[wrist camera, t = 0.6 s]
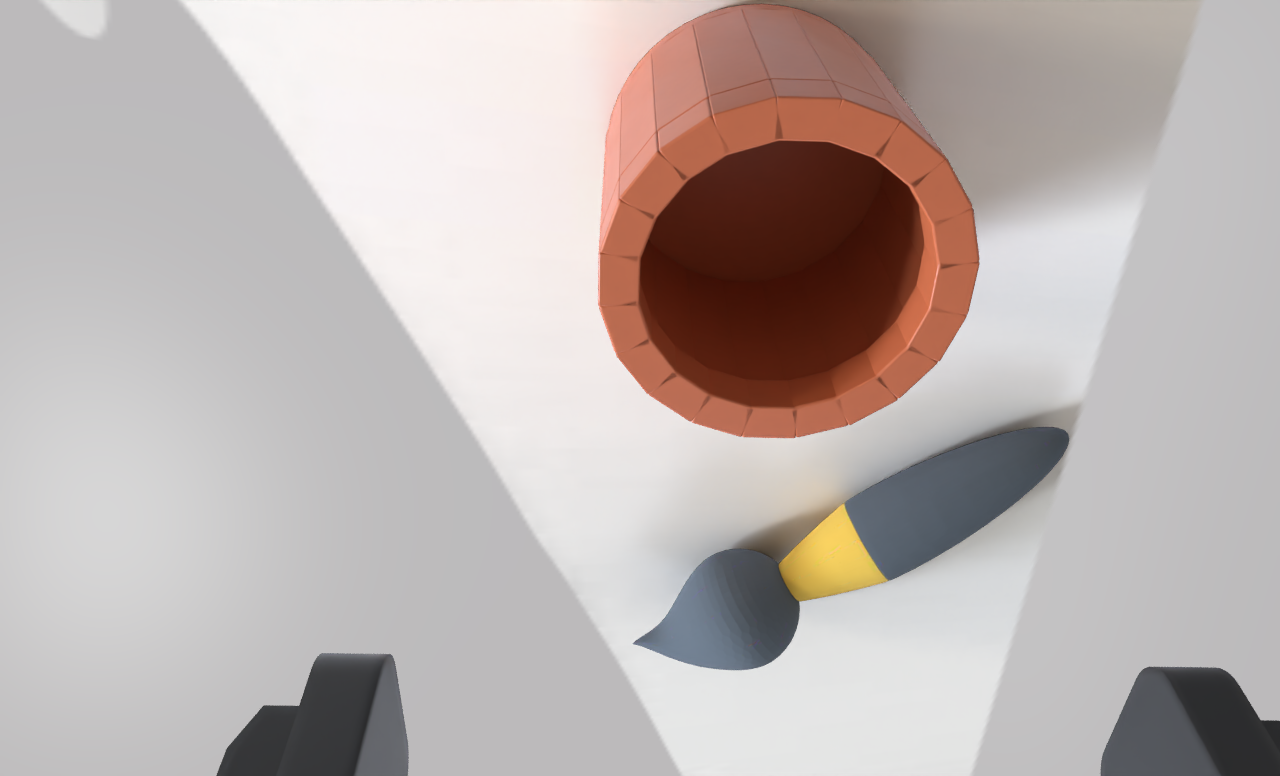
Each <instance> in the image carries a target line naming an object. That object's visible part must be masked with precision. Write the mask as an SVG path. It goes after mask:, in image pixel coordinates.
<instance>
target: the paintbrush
mask: <svg viewBox="0 0 1280 776" xmlns="http://www.w3.org/2000/svg"><path fill="white" fill-rule="evenodd" d="M1068 443H1069V435H1068V433H1067V432H1066V431H1064V430H1062V429H1059V428H1054V427H1036V428H1028V429H1022V430H1017V431H1012V432H1008V433H1004V434H1000V435H997V436H993V437H990V438H987V439H983V440H980V441H977V442H974V443H971V444H968V445H965V446H962V447H960V448H957V449H954V450H951V451H949V452H946V453H943V454H941V455H938V456H936V457H934V458H931V459H929V460H926V461H924V462H922V463H919V464H917V465H914V466H912V467H910V468H908V469H906V470H904V471H902V472H900V473H898V474H895V475H893V476H891V477H889V478H887V479H885V480H883V481H881V482H880V483H878V484H876V485H874V486H872V487H870V488H868V489H866V490H864V491H863V492H861V493H859V494H858V495H856V496H854V497H852V498H851V499H849V500H848V501H846V502H845V503H843V504H842V505H841V506H839V507H838V508H837V509H836V510H835V511H834V512H833V513H831V514H830V515H829V516H828V517H827V518H826V519H825V520H823V521H822V522H821V523H820V524H819V525H818V526H817V527H816V528H815V529H814V530H813V531H811V532H810V533H809V534H808V535H807V536H806V537H805V538H804V539H803V540H802V541H801V542H800V543H799V544H798V545H797V546H796V547H795V548H794V549H793V550H792V551H791V552H790V553H789V554H788V555H787V556H786V557H785V558H784V559H783V560H782V561H781V562H780V563H778V562H776V561H775V560H774V559H772V558H770V557H769V556H767V555H764V554H762V553H759V552H756V551H752V550H747V549H730V550H725V551H722V552H719V553H716V554H714V555H712V556H710V557H709V558H707V559H706V560H704V561H703V562H702V563H701V564H700V565H699V566H698V567H697V568H696V569H695V571H694V572H693V573H692V574H691V576H690V577H689V579H688V580H687V582H686V583H685V585H684V586H683V588H682V590H681V592H680V593H679V595H678V597H677V599H676V601H675V602H674V604H673V606H672V608H671V609H670V611H669V612H668V614H667V615H666V617H665V618H664V619H663V620H662V622H661V623H660V624H659V625H658V626H656V627H655V628H654V629H653V630H651V631H650V632H648V633H647V634H645V635H644V636H642V637H641V638H639V639H638V640H636V641H635V642H634V643H633V644H635V645H639V646H642V647H645V648H648V649H650V650H653V651H655V652H657V653H660V654H662V655H665V656H667V657H670V658H673V659H675V660H678V661H681V662H684V663H688V664H692V665H696V666H700V667H706V668H713V669H723V670H747V669H753V668H758V667H761V666H764V665H766V664H768V663H770V662H772V661H773V660H775V659H776V658H777V657H778V656H780V655H781V653H782V652H783V651H784V650H785V649H786V648H787V646H788V645H789V644H790V642H791V640H792V638H793V636H794V634H795V631H796V629H797V625H798V621H799V611H800V606H799V601H805V600H811V599H816V598H821V597H826V596H831V595H836V594H840V593H844V592H849V591H853V590H857V589H861V588H865V587H869V586H872V585H876V584H880V583H883V582H886V581H889V580H892V579H894V578H897V577H899V576H901V575H903V574H905V573H907V572H909V571H911V570H913V569H915V568H916V567H918V566H920V565H922V564H924V563H926V562H928V561H929V560H931V559H933V558H935V557H937V556H938V555H940V554H942V553H943V552H945V551H947V550H948V549H950V548H952V547H953V546H955V545H957V544H958V543H960V542H961V541H963V540H964V539H966V538H967V537H969V536H970V535H972V534H973V533H975V532H976V531H978V530H979V529H981V528H982V527H984V526H985V525H987V524H988V523H989V522H991V521H992V520H994V519H995V518H996V517H998V516H999V515H1000V514H1002V513H1003V512H1004V511H1006V510H1007V509H1008V508H1009V507H1011V506H1012V505H1013V504H1015V503H1016V502H1017V501H1018V500H1020V499H1021V498H1022V497H1023V496H1024V495H1025V494H1027V493H1028V492H1029V491H1030V490H1031V489H1032V488H1034V487H1035V486H1036V485H1037V484H1038V483H1039V482H1040V481H1041V480H1042V479H1043V478H1044V477H1045V476H1046V475H1047V474H1048V473H1049V472H1050V471H1051V470H1052V469H1053V467H1054V466H1055V465H1056V464H1057V463H1058V461H1059V460H1060V459H1061V457H1062V456H1063V454H1064V452H1065V451H1066V449H1067V446H1068Z"/></svg>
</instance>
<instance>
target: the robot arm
mask: <svg viewBox="0 0 1280 776" xmlns="http://www.w3.org/2000/svg"><path fill="white" fill-rule="evenodd" d="M217 776H408V741H407V734H406V728H405V722H404V716H403V709H402V703H401V697H400V691H399V684H398V678H397V672H396V666H395V661H394V658H393V656H392V655H391V654H338V653H337V654H334V653H322V654H320V655H319V656H318V657H317V658H316V660H315V662H314V664H313V667H312V669H311V672H310V675H309V678H308V681H307V684H306V687H305V690H304V693H303V697H302V699H301V703H300V705H299V706H263V707H262V708H261V709H260V710H259V712H258V713H257V714H256V715H255V716H254V718H253V719H252V720H251V721H250V722H249V723H248V724H247V726H246V727H245V728H244V729H243V730H242V731H241V733H240V734H239V735H238V736H237V737H236V738H235V739H234V741H233V742H232V743H231V744H230V745H229V746H228V748H227V750H226V752H225V755H224V757H223V760H222V763H221V765H220V768H219V771H218V773H217ZM1101 776H1280V721H1261V720H1260V719H1259V717H1258V715H1257V714H1256V712H1255V711H1254V709H1253V707H1252V706H1251V704H1250V702H1249V701H1248V699H1247V697H1246V696H1245V695H1244V693H1243V691H1242V689H1241V688H1240V686H1239V685H1238V683H1237V682H1236V680H1235V679H1234V678H1233V677H1232V676H1231V675H1230V674H1229V673H1228V672H1226V671H1225V670H1223V669H1220V668H1202V667H1199V668H1198V667H1147V668H1145V669H1143V670H1142V671H1141V672H1140V673H1139V675H1138V677H1137V678H1136V681H1135V683H1134V685H1133V687H1132V690H1131V692H1130V694H1129V696H1128V699H1127V701H1126V703H1125V705H1124V707H1123V710H1122V712H1121V714H1120V717H1119V719H1118V721H1117V723H1116V725H1115V728H1114V730H1113V732H1112V734H1111V737H1110V739H1109V741H1108V743H1107V745H1106V748H1105V750H1104V753H1103V756H1102V762H1101Z"/></svg>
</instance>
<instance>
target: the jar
mask: <svg viewBox="0 0 1280 776" xmlns="http://www.w3.org/2000/svg"><path fill="white" fill-rule="evenodd" d="M978 268H979V251H978V243H977V235H976V227H975V219H974V210H973V208H972V204H971V202H970V200H969V198H968V196H967V195H966V193H965V191H964V189H963V187H962V185H961V183H960V182H959V180H958V178H957V176H956V174H955V172H954V170H953V169H952V167H951V165H950V163H949V161H948V159H947V158H946V157H945V155H944V154H943V153H942V151H941V150H940V149H939V147H938V146H937V145H936V143H935V142H934V141H933V139H932V138H931V136H930V135H929V134H928V132H927V131H926V130H925V128H924V127H923V125H922V124H921V123H920V121H919V120H918V119H917V117H916V116H915V115H914V113H913V112H912V111H911V109H910V108H909V106H908V105H907V104H906V102H905V101H904V100H903V98H902V97H901V96H900V94H899V93H898V92H897V90H896V89H895V88H894V86H893V85H892V83H891V82H890V81H889V79H888V78H887V77H886V75H885V74H884V73H883V71H882V70H881V69H880V67H879V66H878V64H877V63H876V62H875V60H874V59H873V58H872V57H871V56H870V55H869V54H868V53H866V52H865V51H864V50H863V49H862V47H861V46H860V45H859V44H858V43H857V42H856V41H855V40H854V39H853V38H851V37H850V36H849V35H848V34H846V33H845V32H844V31H843V30H841V29H840V28H839V27H837V26H835V25H833V24H832V23H830V22H828V21H827V20H825V19H823V18H821V17H818V16H816V15H813V14H811V13H808V12H806V11H803V10H799V9H795V8H791V7H787V6H779V5H769V4H752V5H740V6H734V7H729V8H723V9H720V10H717V11H714V12H711V13H707V14H704V15H702V16H700V17H698V18H696V19H693V20H691V21H689V22H687V23H685V24H683V25H682V26H680V27H679V28H677V29H676V30H674V31H672V32H671V33H669V34H668V35H667V36H665V37H664V38H663V39H662V40H661V41H659V42H658V43H657V44H656V45H655V46H654V47H652V48H651V50H650V51H649V52H648V53H647V54H646V55H645V56H644V57H643V58H642V59H641V60H640V62H639V63H638V64H637V66H636V67H635V68H634V70H633V71H632V73H631V74H630V75H629V77H628V78H627V80H626V82H625V84H624V86H623V88H622V90H621V92H620V94H619V95H618V98H617V101H616V104H615V106H614V109H613V112H612V115H611V119H610V124H609V129H608V131H607V134H606V145H605V161H604V177H603V193H602V209H601V224H600V241H599V270H598V305H599V309H600V312H601V315H602V317H603V320H604V323H605V326H606V329H607V331H608V334H609V337H610V340H611V343H612V345H613V348H614V351H615V352H616V356H617V357H618V358H619V360H620V361H621V362H622V363H623V365H624V366H625V367H626V368H627V369H628V371H629V372H630V373H631V374H632V376H633V377H634V378H635V379H636V381H637V382H638V383H639V384H640V386H641V387H642V388H643V389H644V390H645V392H646V393H647V394H649V395H650V396H651V397H653V398H654V399H656V400H658V401H659V402H661V403H662V404H664V405H665V406H667V407H668V408H670V409H671V410H673V411H675V412H676V413H678V414H679V415H681V416H682V417H684V418H685V419H687V420H688V421H692V422H693V423H695V424H699V425H702V426H705V427H709V428H712V429H716V430H719V431H722V432H726V433H729V434H733V435H736V436H739V437H741V436H742V437H762V438H795V436H796V437H801V436H806V435H810V434H814V433H818V432H822V431H827V430H831V429H835V428H839V427H844V426H847V425H848V424H849V425H851V424H853V423H855V422H857V421H859V420H861V419H863V418H865V417H867V416H868V415H870V414H872V413H874V412H876V411H878V410H880V409H882V408H884V407H886V406H887V405H889V404H891V403H893V402H895V401H897V398H900V397H901V396H903V395H904V394H905V393H906V392H907V391H908V390H909V389H910V388H911V387H912V386H913V385H914V384H916V383H917V382H918V381H919V380H920V379H921V378H922V377H923V376H924V375H925V374H926V373H927V372H929V371H930V370H931V369H932V368H933V367H934V366H935V365H936V364H937V363H938V361H940V360H941V358H942V357H943V355H944V353H945V352H946V350H947V348H948V347H949V345H950V343H951V342H952V340H953V338H954V337H955V335H956V333H957V332H958V330H959V328H960V327H961V325H962V323H963V322H964V320H965V318H966V316H967V314H968V311H969V307H970V303H971V298H972V294H973V290H974V285H975V281H976V277H977V272H978Z"/></svg>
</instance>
